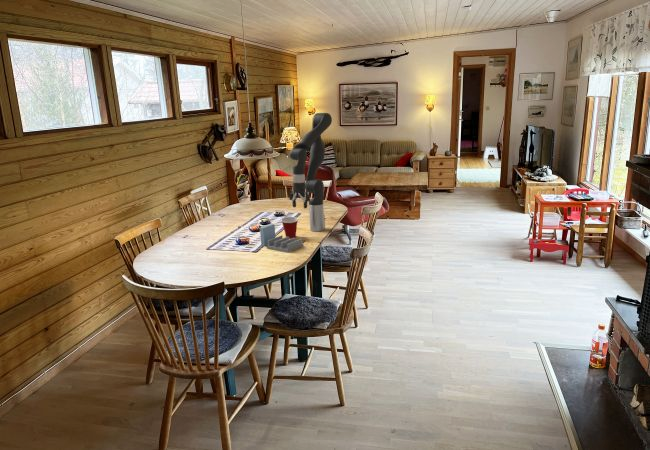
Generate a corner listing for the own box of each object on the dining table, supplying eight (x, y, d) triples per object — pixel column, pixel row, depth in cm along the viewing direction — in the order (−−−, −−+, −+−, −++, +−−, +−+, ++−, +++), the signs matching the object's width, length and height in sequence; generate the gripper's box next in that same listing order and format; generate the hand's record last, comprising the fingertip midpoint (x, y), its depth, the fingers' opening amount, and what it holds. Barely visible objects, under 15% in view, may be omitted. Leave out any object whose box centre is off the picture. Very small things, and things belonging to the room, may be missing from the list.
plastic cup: (284, 240, 287) (282, 221, 284) (280, 236, 298) (279, 217, 295) (301, 238, 290) (300, 219, 287) (297, 234, 300) (296, 216, 297)
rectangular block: (272, 241, 288) (271, 223, 286) (275, 241, 287) (274, 224, 284) (261, 245, 281) (259, 227, 278) (264, 246, 279) (262, 228, 276)
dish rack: (282, 242, 285) (282, 235, 284) (303, 245, 276) (303, 238, 275) (266, 248, 274) (266, 241, 273) (287, 252, 265) (287, 244, 264)
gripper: (312, 181, 288) (312, 207, 291) (294, 180, 296) (294, 205, 299) (304, 182, 282) (305, 209, 285) (286, 181, 290) (287, 207, 293)
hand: (299, 207), depth 292 cm, fingers open, 8 cm apart
